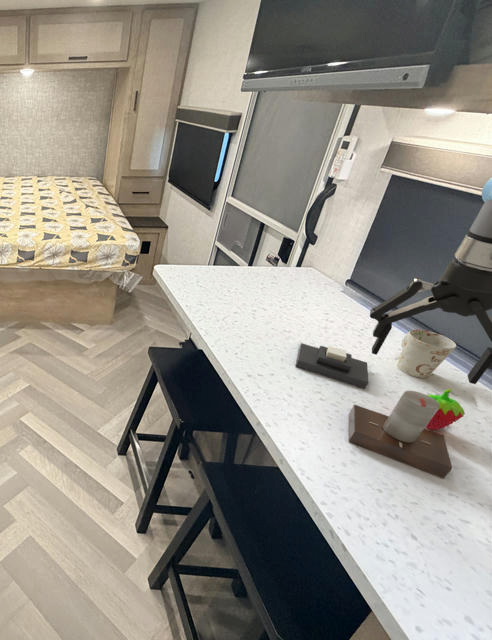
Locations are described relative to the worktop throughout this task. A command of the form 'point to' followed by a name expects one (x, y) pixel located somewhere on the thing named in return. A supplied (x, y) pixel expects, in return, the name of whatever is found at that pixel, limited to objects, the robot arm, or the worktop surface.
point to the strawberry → (445, 411)
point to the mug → (423, 352)
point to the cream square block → (336, 353)
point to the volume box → (399, 443)
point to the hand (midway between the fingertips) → (420, 364)
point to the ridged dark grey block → (332, 366)
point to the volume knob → (410, 416)
